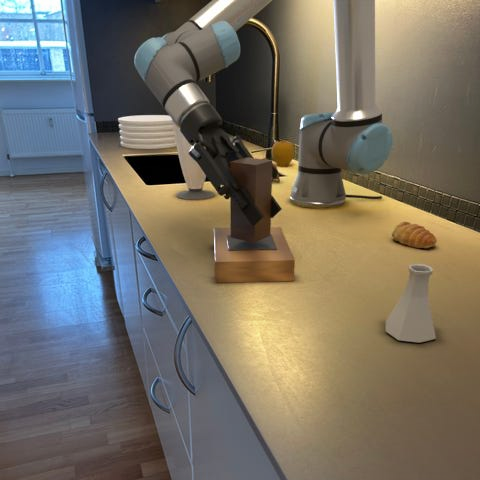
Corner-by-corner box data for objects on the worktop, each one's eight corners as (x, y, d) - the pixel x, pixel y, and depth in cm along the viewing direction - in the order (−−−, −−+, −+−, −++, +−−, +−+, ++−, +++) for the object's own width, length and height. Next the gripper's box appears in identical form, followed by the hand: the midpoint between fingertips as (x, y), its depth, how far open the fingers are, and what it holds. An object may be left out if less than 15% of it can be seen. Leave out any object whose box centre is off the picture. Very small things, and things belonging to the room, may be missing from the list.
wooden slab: (279, 245, 109) (280, 225, 107) (293, 281, 91) (294, 259, 90) (214, 246, 109) (214, 227, 107) (215, 282, 91) (215, 260, 89)
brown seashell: (282, 186, 162) (270, 164, 157) (255, 198, 165) (243, 177, 160) (282, 169, 170) (271, 148, 166) (257, 181, 174) (246, 160, 169)
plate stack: (111, 148, 229) (108, 120, 223) (133, 139, 253) (131, 114, 248) (171, 149, 224) (170, 121, 219) (188, 140, 249) (186, 115, 244)
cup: (201, 202, 142) (198, 119, 132) (168, 197, 147) (162, 116, 137) (222, 193, 151) (221, 115, 141) (190, 189, 156) (187, 113, 146)
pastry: (443, 246, 108) (446, 229, 106) (421, 252, 105) (424, 234, 103) (409, 235, 115) (411, 218, 113) (387, 240, 112) (389, 223, 110)
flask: (377, 321, 77) (385, 259, 73) (423, 319, 78) (435, 257, 73) (394, 345, 71) (404, 278, 66) (444, 343, 71) (458, 276, 67)
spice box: (230, 237, 97) (229, 161, 91) (246, 230, 101) (247, 157, 95) (254, 242, 94) (255, 164, 88) (270, 235, 98) (272, 160, 92)
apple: (272, 163, 195) (272, 138, 191) (294, 163, 194) (295, 139, 190) (270, 167, 188) (270, 142, 184) (293, 167, 187) (294, 142, 183)
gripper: (214, 126, 104) (280, 218, 103) (150, 136, 90) (226, 241, 90) (235, 98, 99) (305, 195, 98) (171, 105, 85) (251, 216, 84)
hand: (267, 217), depth 94 cm, fingers closed on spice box, 5 cm apart
